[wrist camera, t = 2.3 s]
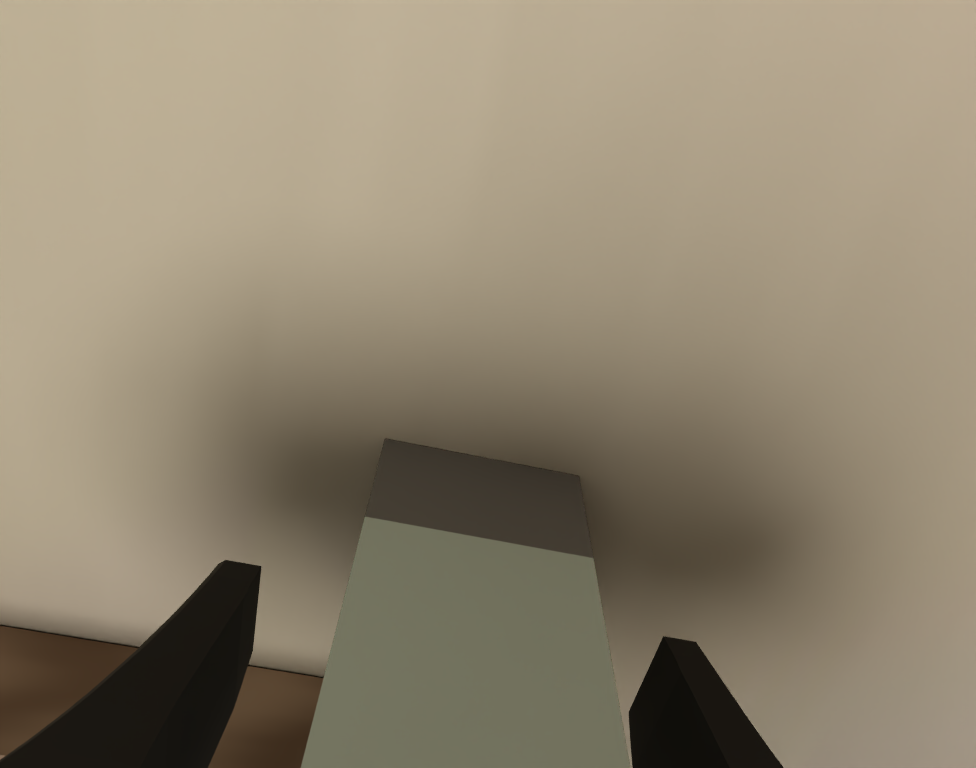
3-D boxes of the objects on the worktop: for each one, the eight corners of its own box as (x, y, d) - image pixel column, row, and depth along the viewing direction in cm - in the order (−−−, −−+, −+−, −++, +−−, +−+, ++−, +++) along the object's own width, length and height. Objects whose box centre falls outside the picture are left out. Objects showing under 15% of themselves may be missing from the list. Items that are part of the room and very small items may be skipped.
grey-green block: (579, 476, 15) (653, 903, 8) (530, 617, 17) (557, 1069, 10) (384, 438, 15) (278, 851, 7) (357, 587, 16) (250, 1034, 9)
